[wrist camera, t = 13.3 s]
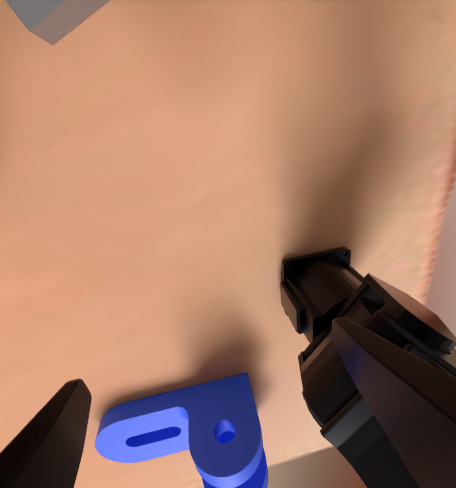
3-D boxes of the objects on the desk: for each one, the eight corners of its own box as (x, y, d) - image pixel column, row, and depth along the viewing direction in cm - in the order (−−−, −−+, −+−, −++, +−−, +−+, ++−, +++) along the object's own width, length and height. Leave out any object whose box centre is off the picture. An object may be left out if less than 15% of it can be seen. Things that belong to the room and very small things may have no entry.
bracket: (246, 371, 29) (270, 464, 21) (254, 413, 33) (276, 507, 25) (89, 410, 28) (50, 525, 20) (115, 449, 32) (91, 560, 23)
